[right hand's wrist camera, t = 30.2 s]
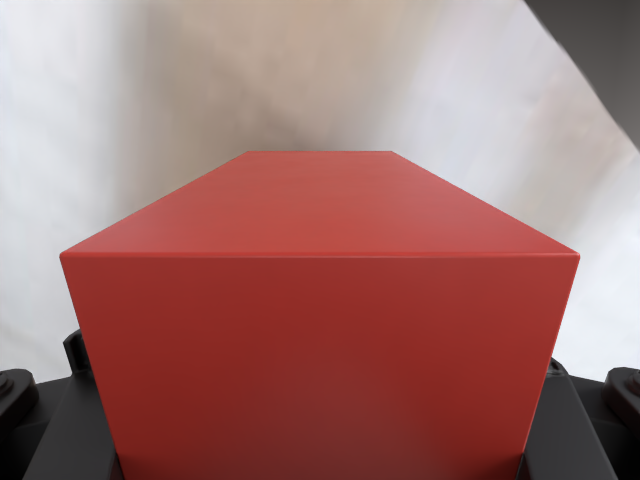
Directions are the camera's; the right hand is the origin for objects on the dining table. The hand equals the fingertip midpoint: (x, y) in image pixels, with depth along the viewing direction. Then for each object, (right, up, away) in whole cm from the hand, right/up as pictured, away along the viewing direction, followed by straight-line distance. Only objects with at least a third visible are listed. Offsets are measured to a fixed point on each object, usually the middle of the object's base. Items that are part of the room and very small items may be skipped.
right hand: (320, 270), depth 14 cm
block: (0, +1, +2) cm, 3 cm away
